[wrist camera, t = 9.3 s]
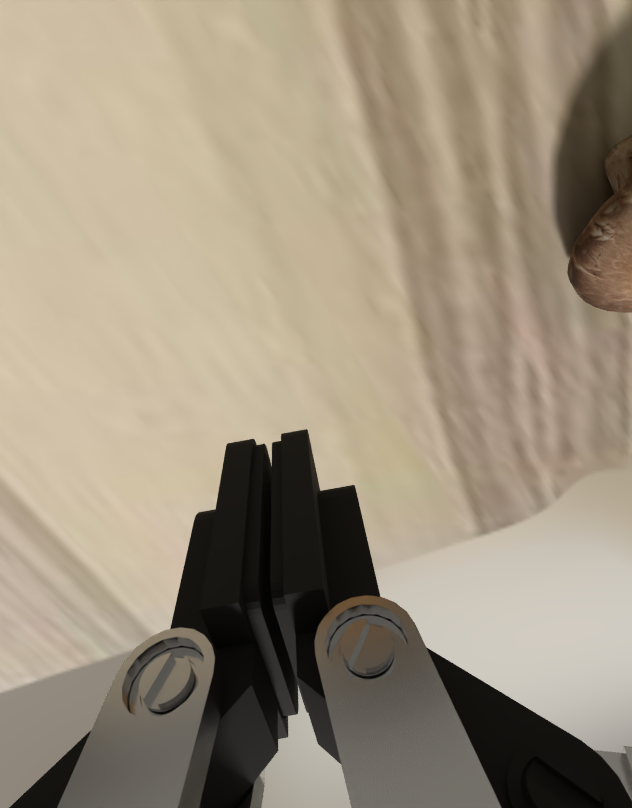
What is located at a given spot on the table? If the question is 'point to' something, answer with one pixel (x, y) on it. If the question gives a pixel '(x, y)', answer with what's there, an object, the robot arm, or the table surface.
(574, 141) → the table surface
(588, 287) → the mushroom
